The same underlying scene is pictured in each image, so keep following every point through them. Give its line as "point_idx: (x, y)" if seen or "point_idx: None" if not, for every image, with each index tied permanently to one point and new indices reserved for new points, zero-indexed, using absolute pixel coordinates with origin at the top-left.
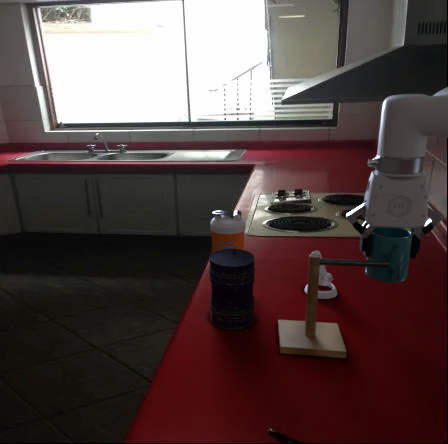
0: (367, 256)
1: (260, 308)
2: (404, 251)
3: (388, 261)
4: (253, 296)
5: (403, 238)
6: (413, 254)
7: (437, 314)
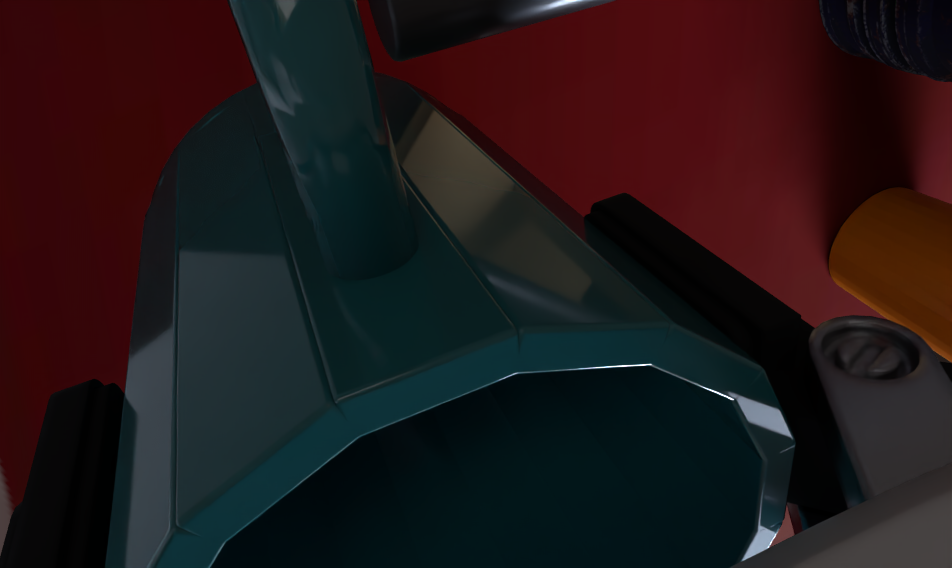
0: (607, 200)
1: (781, 90)
2: (202, 298)
3: (407, 6)
4: (925, 2)
5: (273, 445)
6: (79, 413)
7: (6, 397)
